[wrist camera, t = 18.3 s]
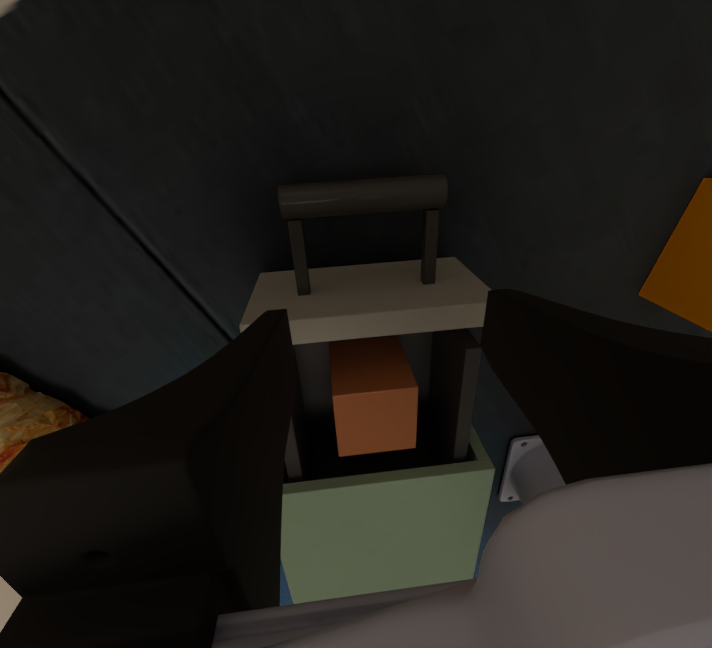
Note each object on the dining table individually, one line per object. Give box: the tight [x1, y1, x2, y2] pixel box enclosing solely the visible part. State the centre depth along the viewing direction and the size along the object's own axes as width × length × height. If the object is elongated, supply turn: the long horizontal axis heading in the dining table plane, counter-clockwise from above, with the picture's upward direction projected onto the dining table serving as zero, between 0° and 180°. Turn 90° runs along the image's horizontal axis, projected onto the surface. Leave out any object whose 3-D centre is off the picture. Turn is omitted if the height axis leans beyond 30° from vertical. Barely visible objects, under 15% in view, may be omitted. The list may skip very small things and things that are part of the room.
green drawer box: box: [281, 424, 495, 604], centre depth 26 cm, size 15×12×8 cm
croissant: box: [0, 372, 89, 473], centre depth 23 cm, size 21×10×8 cm, turn 21°
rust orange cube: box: [329, 336, 418, 457], centre depth 20 cm, size 4×4×5 cm
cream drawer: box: [239, 174, 491, 483], centre depth 20 cm, size 19×11×6 cm, turn 3°
